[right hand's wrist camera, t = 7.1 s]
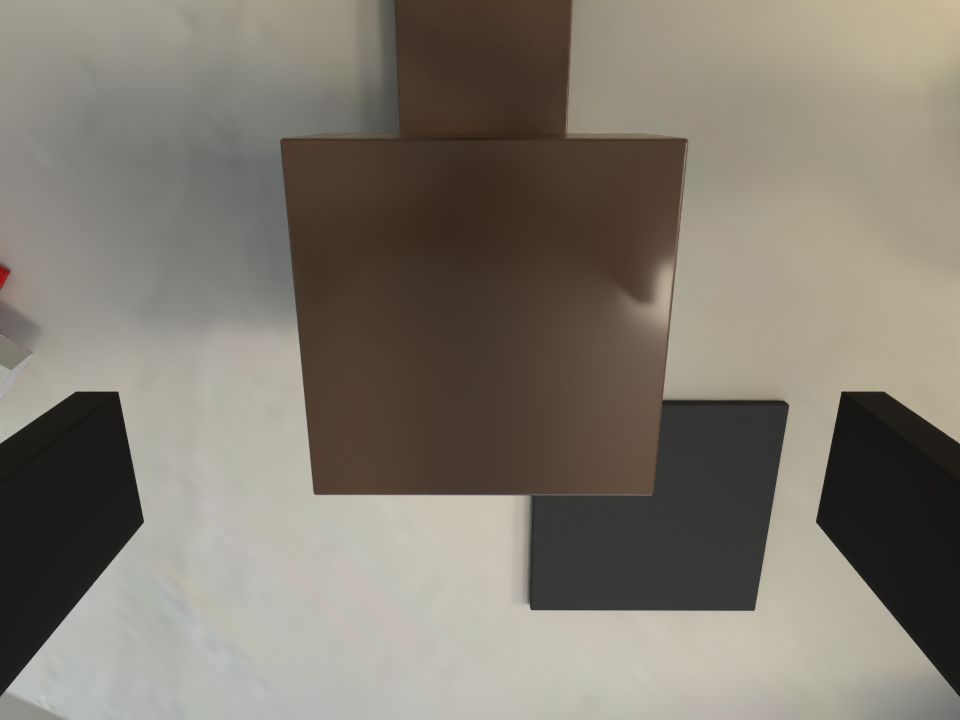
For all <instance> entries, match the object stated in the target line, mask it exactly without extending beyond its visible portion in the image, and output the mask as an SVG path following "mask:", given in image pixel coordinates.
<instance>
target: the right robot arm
mask: <svg viewBox="0 0 960 720" xmlns="http://www.w3.org/2000/svg"><path fill="white" fill-rule="evenodd" d="M143 523H144V519H143V514H142V509H141V504H140V499H139V494H138V489H137V484H136V479H135V474H134V469H133V464H132V459H131V454H130V449H129V444H128V438H127V433H126V428H125V423H124V418H123V413H122V408H121V403H120V398H119V393H118V392H75V393H73V394H72V395H70V396H69V397H68V398H66V399H65V400H63V401H62V402H60V403H59V404H57V405H56V406H54V407H53V408H52V409H50V410H49V411H47V412H46V413H44V414H43V415H41V416H40V417H38V418H37V419H36V420H34V421H33V422H31V423H30V424H28V425H27V426H25V427H24V428H22V429H21V430H20V431H18V432H17V433H15V434H14V435H12V436H11V437H9V438H8V439H6V440H5V441H4V442H2V443H1V444H0V696H1V695H2V694H3V693H4V692H5V690H6V689H7V688H8V687H9V686H10V684H11V683H12V682H13V681H14V679H15V678H16V677H17V676H18V675H19V673H20V672H21V671H22V670H23V669H24V667H25V666H26V665H27V664H28V662H29V661H30V660H31V659H32V658H33V656H34V655H35V654H36V653H37V652H38V650H39V649H40V648H41V647H42V645H43V644H44V643H45V642H46V641H47V639H48V638H49V637H50V636H51V634H52V633H53V632H54V631H55V630H56V628H57V627H58V626H59V625H60V624H61V622H62V621H63V620H64V619H65V617H66V616H67V615H68V614H69V613H70V611H71V610H72V609H73V608H74V607H75V605H76V604H77V603H78V602H79V600H80V599H81V598H82V597H83V596H84V594H85V593H86V592H87V591H88V590H89V588H90V587H91V586H92V585H93V583H94V582H95V581H96V580H97V579H98V577H99V576H100V575H101V574H102V573H103V571H104V570H105V569H106V568H107V566H108V565H109V564H110V563H111V562H112V560H113V559H114V558H115V557H116V555H117V554H118V553H119V552H120V551H121V549H122V548H123V547H124V546H125V545H126V543H127V542H128V541H129V540H130V538H131V537H132V536H133V535H134V534H135V532H136V531H137V530H138V529H139V528H140V526H141V525H142V524H143ZM816 523H817V524H818V525H819V526H820V528H821V529H822V530H823V531H824V532H825V534H826V535H827V536H828V537H829V538H830V540H831V541H832V542H833V543H834V545H835V546H836V547H837V548H838V549H839V551H840V552H841V553H842V554H843V555H844V557H845V558H846V559H847V560H848V562H849V563H850V564H851V565H852V566H853V568H854V569H855V570H856V571H857V573H858V574H859V575H860V576H861V577H862V579H863V580H864V581H865V582H866V583H867V585H868V586H869V587H870V588H871V590H872V591H873V592H874V593H875V594H876V596H877V597H878V598H879V599H880V600H881V602H882V603H883V604H884V605H885V607H886V608H887V609H888V610H889V611H890V613H891V614H892V615H893V616H894V617H895V619H896V620H897V621H898V622H899V624H900V625H901V626H902V627H903V628H904V630H905V631H906V632H907V633H908V634H909V636H910V637H911V638H912V639H913V641H914V642H915V643H916V644H917V645H918V647H919V648H920V649H921V650H922V652H923V653H924V654H925V655H926V656H927V658H928V659H929V660H930V661H931V662H932V664H933V665H934V666H935V667H936V669H937V670H938V671H939V672H940V673H941V675H942V676H943V677H944V678H945V679H946V681H947V682H948V683H949V684H950V686H951V687H952V688H953V689H954V690H955V692H956V693H957V694H958V695H959V696H960V444H959V443H958V442H956V441H955V440H954V439H952V438H951V437H949V436H948V435H946V434H945V433H943V432H942V431H940V430H939V429H938V428H936V427H935V426H933V425H932V424H930V423H929V422H927V421H926V420H924V419H923V418H922V417H920V416H919V415H917V414H916V413H914V412H913V411H911V410H910V409H908V408H907V407H906V406H904V405H903V404H901V403H900V402H898V401H897V400H895V399H894V398H892V397H891V396H890V395H888V394H887V393H885V392H842V393H841V398H840V403H839V408H838V413H837V418H836V423H835V428H834V433H833V438H832V444H831V449H830V454H829V459H828V464H827V469H826V474H825V479H824V484H823V489H822V494H821V499H820V504H819V509H818V514H817V519H816Z"/></svg>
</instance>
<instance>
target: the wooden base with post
mask: <svg viewBox="0 0 960 720" xmlns="http://www.w3.org/2000/svg"><path fill="white" fill-rule="evenodd" d="M395 19H396V46H397V72H398V98H399V125H400V134H567V120H568V96H569V72H570V48H571V24H572V0H395Z"/></svg>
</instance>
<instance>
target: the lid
mask: <svg viewBox="0 0 960 720" xmlns="http://www.w3.org/2000/svg"><path fill="white" fill-rule="evenodd" d="M280 144H281V154H282V165H283V175H284V186H285V196H286V207H287V217H288V228H289V239H290V249H291V260H292V270H293V281H294V291H295V302H296V312H297V323H298V333H299V344H300V354H301V365H302V375H303V386H304V396H305V407H306V417H307V428H308V438H309V449H310V459H311V470H312V480H313V491H314V494H315V495H630V496H651V495H653V490H654V480H655V470H656V460H657V450H658V440H659V430H660V420H661V410H662V400H663V390H664V380H665V370H666V360H667V350H668V340H669V330H670V320H671V310H672V300H673V290H674V280H675V270H676V260H677V250H678V240H679V230H680V219H681V209H682V199H683V189H684V179H685V169H686V159H687V149H688V139H686V138H679V137H670V136H661V135H652V134H315V135H306V136H297V137H288V138H282V139H281V141H280Z"/></svg>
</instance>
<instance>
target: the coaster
mask: <svg viewBox="0 0 960 720" xmlns="http://www.w3.org/2000/svg"><path fill="white" fill-rule="evenodd" d="M788 409H789V405H788V404H787V403H786V402H785V401H662V410H661V420H660V430H659V440H658V450H657V460H656V470H655V480H654V490H653V495H651V496H630V495H533V522H532V555H531V587H530V609H531V610H693V611H754V610H755V605H756V599H757V593H758V587H759V581H760V575H761V569H762V563H763V558H764V552H765V546H766V540H767V534H768V528H769V522H770V516H771V510H772V504H773V498H774V492H775V486H776V480H777V474H778V468H779V463H780V457H781V451H782V445H783V439H784V433H785V427H786V421H787V415H788Z"/></svg>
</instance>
